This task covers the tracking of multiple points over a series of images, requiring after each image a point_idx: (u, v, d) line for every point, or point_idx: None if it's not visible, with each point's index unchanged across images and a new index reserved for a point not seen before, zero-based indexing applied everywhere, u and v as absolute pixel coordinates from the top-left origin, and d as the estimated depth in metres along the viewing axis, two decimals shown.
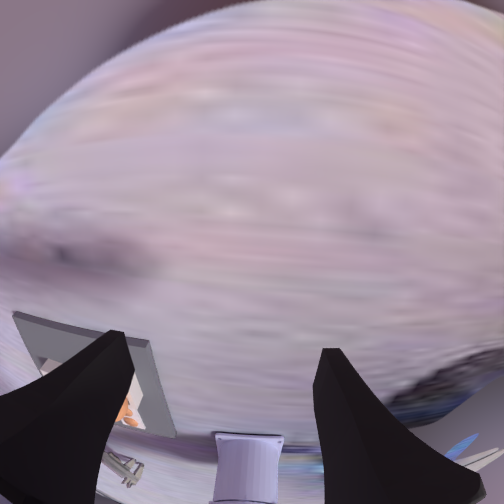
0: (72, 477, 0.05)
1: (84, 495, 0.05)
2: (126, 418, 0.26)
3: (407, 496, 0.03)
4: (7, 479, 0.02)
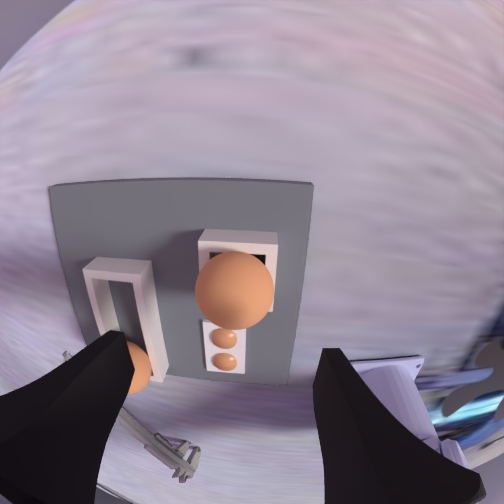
0: (72, 477, 0.05)
1: (84, 495, 0.05)
2: (220, 355, 0.20)
3: (407, 496, 0.03)
4: (8, 479, 0.02)
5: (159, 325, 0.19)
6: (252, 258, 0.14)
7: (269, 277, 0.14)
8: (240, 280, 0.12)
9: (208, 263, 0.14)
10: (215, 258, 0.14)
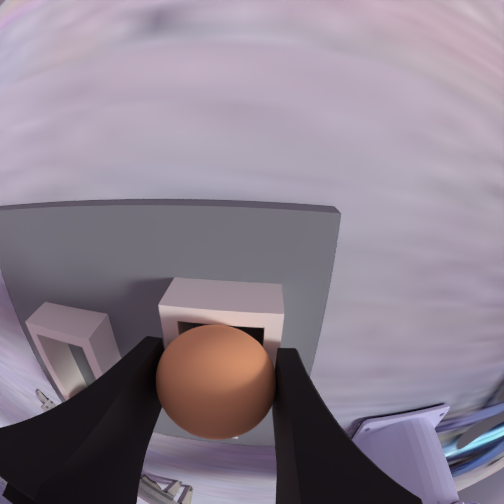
0: (117, 495, 0.05)
1: None
2: None
3: None
4: None
5: None
6: (242, 342, 0.08)
7: (270, 372, 0.08)
8: (221, 390, 0.07)
9: (171, 350, 0.08)
10: (182, 342, 0.08)
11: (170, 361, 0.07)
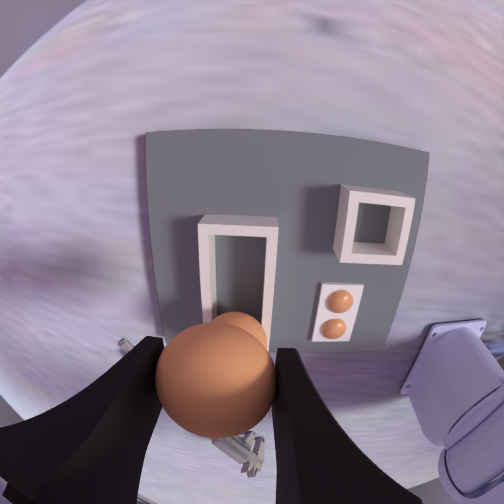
0: (117, 495, 0.05)
1: None
2: (331, 321, 0.19)
3: None
4: None
5: None
6: (243, 340, 0.08)
7: (270, 370, 0.08)
8: (221, 388, 0.07)
9: (171, 347, 0.08)
10: (182, 340, 0.08)
11: (170, 358, 0.07)
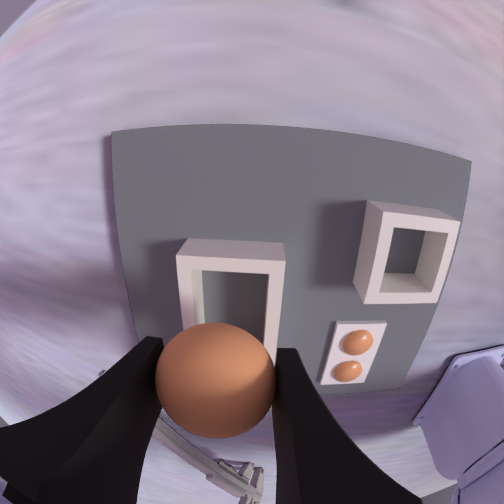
0: (117, 495, 0.05)
1: None
2: (345, 364, 0.15)
3: None
4: None
5: None
6: (243, 340, 0.08)
7: (270, 370, 0.08)
8: (221, 388, 0.07)
9: (171, 347, 0.08)
10: (182, 340, 0.08)
11: (170, 358, 0.07)
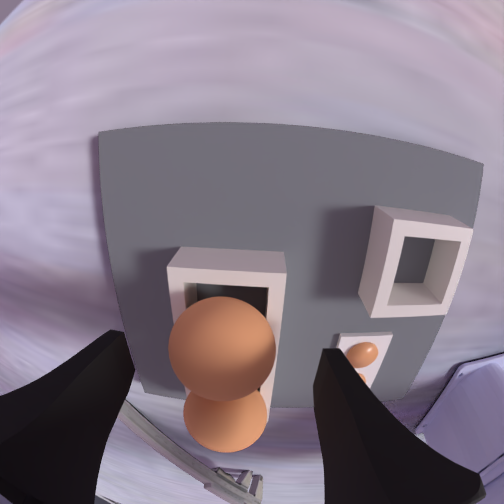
0: (72, 477, 0.05)
1: (84, 495, 0.05)
2: None
3: (407, 496, 0.03)
4: (8, 479, 0.02)
5: None
6: (246, 309, 0.09)
7: (270, 336, 0.09)
8: (228, 348, 0.08)
9: (184, 316, 0.09)
10: (194, 309, 0.09)
11: (183, 325, 0.09)
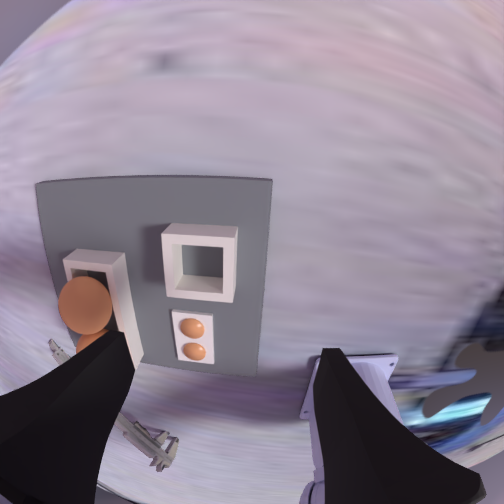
0: (72, 477, 0.05)
1: (84, 495, 0.05)
2: (189, 344, 0.21)
3: (407, 496, 0.03)
4: (7, 479, 0.02)
5: (133, 314, 0.20)
6: (90, 282, 0.16)
7: (100, 298, 0.16)
8: (74, 300, 0.15)
9: (65, 284, 0.16)
10: None
11: (62, 289, 0.15)
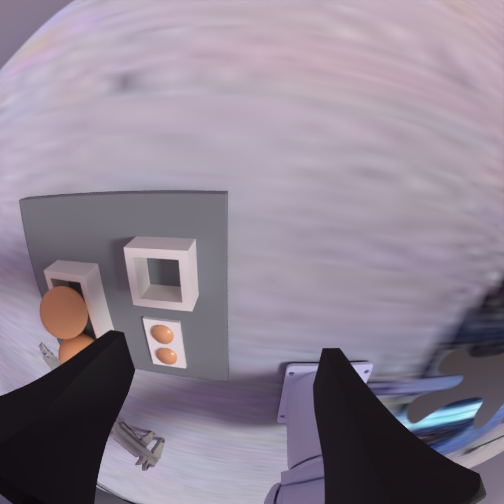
0: (72, 477, 0.05)
1: (84, 495, 0.05)
2: (161, 349, 0.21)
3: (407, 496, 0.03)
4: (7, 479, 0.02)
5: (109, 320, 0.21)
6: (66, 292, 0.16)
7: (75, 306, 0.16)
8: (52, 308, 0.15)
9: (45, 294, 0.16)
10: (48, 291, 0.16)
11: (43, 297, 0.16)
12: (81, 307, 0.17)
